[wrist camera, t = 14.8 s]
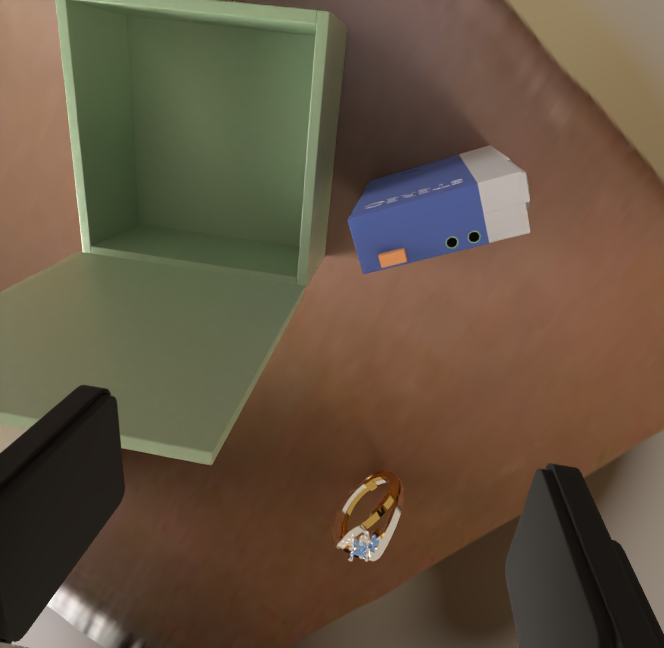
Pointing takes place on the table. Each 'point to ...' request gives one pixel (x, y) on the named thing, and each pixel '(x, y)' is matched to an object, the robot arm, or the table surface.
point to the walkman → (440, 209)
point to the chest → (203, 131)
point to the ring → (369, 518)
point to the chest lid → (141, 347)
